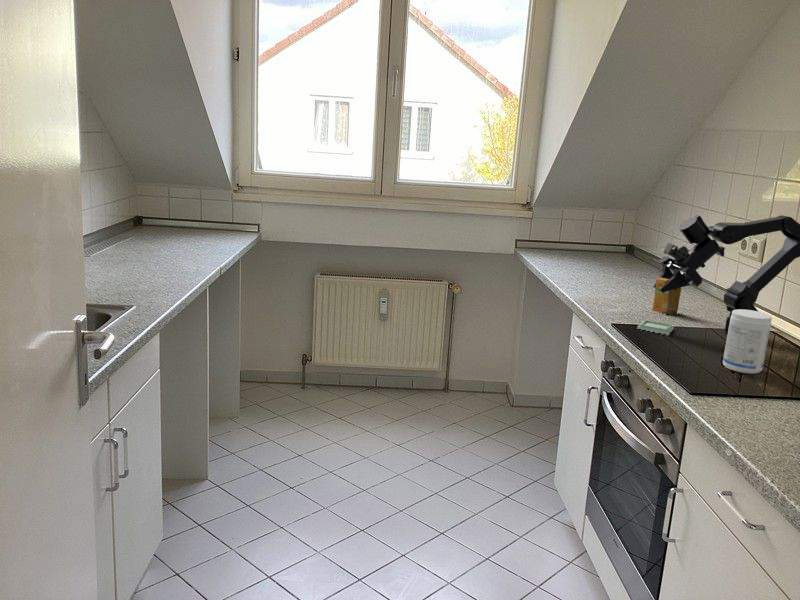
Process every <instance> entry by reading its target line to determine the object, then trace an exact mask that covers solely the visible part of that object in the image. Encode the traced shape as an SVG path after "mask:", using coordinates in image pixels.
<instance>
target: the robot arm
mask: <svg viewBox="0 0 800 600" xmlns="http://www.w3.org/2000/svg"><path fill="white" fill-rule="evenodd" d="M678 230H679V231H680V233H682V235H683V236H684V237H685V239H686V240H687V241H688V243H689V244H694V246H692V248H690V249H689V248H688V247H686V246H685V245H682V244H681V245H679V246H677V245H675V244H673V243H670V242H668V243H667V245H665V247H664V249H663V251H662V253H664V254H666V255H669V256H670V257H669V256H662V257H661V258H660V259H659V260H658V262H659V263H660V264H661V267H662V272H661V274H660V275H659V276H658V278H665V279H670V280H669V281H668V282H667V283H666V284H665V285H664V286H663V287H662V288H661V289H660V291H661V292H666V291H670V290H673V289H677V288H680V287H681V288H684V287H689V286H691V285H692V286H693V287H695V288H697V287H699V286H700V285H702V283H703V277H702V276H701V275H700V274H699V272H698V271H697V270H698V269H699V268H701V269H704V268H705V267H706V263H707V262H708V261H709V260H710V259H711V258H713V257H714V256H715V255H716V256H719V257H722V258H723V257H725V250H726V247H723V246H721V245H719V243H721V244H725V245H733V244H737V243H739V242H741V241H743V240H744V239H745V238H749V237H753V236H758V235H765V234H770V233H775V232H781V233H782V235H783V236H785V237H786V238H785V239H784V241H783V243H782V244H783V245H782V247H781V249H779V250H778V251H777V252H776V253H775V254H774V255H773V256H772V257H771V258H770V259H769V260H767V262H766V263H764V264H763V265H762V266H761V267H760V268H759V269H758V270H756V272H755V273H753V274H752V275H751V276H750V277H749V278H748V279H747V280H746V281H743V282H741V281H738V280H736V281H734V282H733V283H732V284H731V286H730V287H729V288H726V289H725V291H726V292H725V293H724V295H723V302H724V305H725V306H726V311H727V312H729V316H727V317H726V319H725V321H726V322H725V327H724V331H725V334H726V335H728V329H729V323H730V318H731V315H732V311H733V310H737V309H744V310H752V311H758V312H759V310H758V309H757V307H756V306H755V305H754V304H755V303H756V302H757V300H758V296H759V293H760V292H762V290H763V289H764V288H765V287H766V286H767V285H768V284H770V283H771V282H772V281H773V280H774V279H775V278H776V277H777V276H778V275H780V273H781V272H783V271H784V270H785V269H786V268H787V267H788V266H789V265H790V264H791V263H792V262H793V261H795V260H796V259H797V258H800V223H799V222H797V221H796V219H794V218H793V217H791V216H787V215H782V214H781V215H779V216H774V217H769V218H763V219H758V220H757V219H756V220H751V221H746V222H718V223H715V224H714V226H713V225H712V226H711V225H710V226H707V224H706V223H705V222H704V219H703V218H702V217H701V215H700V214H696V215H694V216H692V217H689V218H688V219H685V220H683V221H682V222H681V223H680V224H679V226H678ZM671 257H672V258H671ZM690 282H691V284H690ZM653 288H654V289H655V288H656V282H655V284H654V285H653Z"/></svg>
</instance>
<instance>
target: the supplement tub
mask: <svg viewBox="0 0 800 600" xmlns="http://www.w3.org/2000/svg"><path fill="white" fill-rule="evenodd" d="M772 318H773V317H772V315H770V314H768V313H765V312H761V311H759V310H758V311H752V310H744V309H737V310H733V311H732V315H731V318H730V323H729V329H728V334H726V340H725V347H724V352H723V358H722V364H723V366H724V367H725V368H727V369H728V370H731V371H734V372H736V373H737V372H738V373H742V374H748V375H749V374H750V375H751V374H754V375H755V374H759V373H761V372H762V370H763V368H764V364H765V363H764V362H765V358H766V352H767V348H768V342H769V338H770V337H769V336H770V333H771V327H772V320H773V319H772Z"/></svg>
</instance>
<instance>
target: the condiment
mask: <svg viewBox="0 0 800 600" xmlns="http://www.w3.org/2000/svg"><path fill="white" fill-rule="evenodd" d="M681 292H682V287H680V288H677V289H673V290H670V291H669V295H668V303H667V311H666V312H663V313H664V314H662V313H660V314H661V315H663V316H664V315H665V316H667V315H666V314H669V315H668V316H680V317H681V316H687V315H686V314H684V313H682V312H680V311H679V304H680V299H681ZM677 311H679V312H678V314H677ZM676 314H677V315H676Z"/></svg>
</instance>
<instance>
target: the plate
mask: <svg viewBox="0 0 800 600" xmlns="http://www.w3.org/2000/svg"><path fill="white" fill-rule="evenodd" d="M674 328H675V327H674V326H673V324H670V323H664V322H659V321H654V320H648V319H643V321H642V322H640V324H638V325H637V328H636V329H641V330H640V331H642V330H646V331H645V332H647V331H650V332H649V333H652V332H655V333H654V334H657V333H661V334H660V335H663V334H666V335H665V336H670V334H671V333H672V331H673V330H674ZM670 332H671V333H670Z"/></svg>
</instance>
